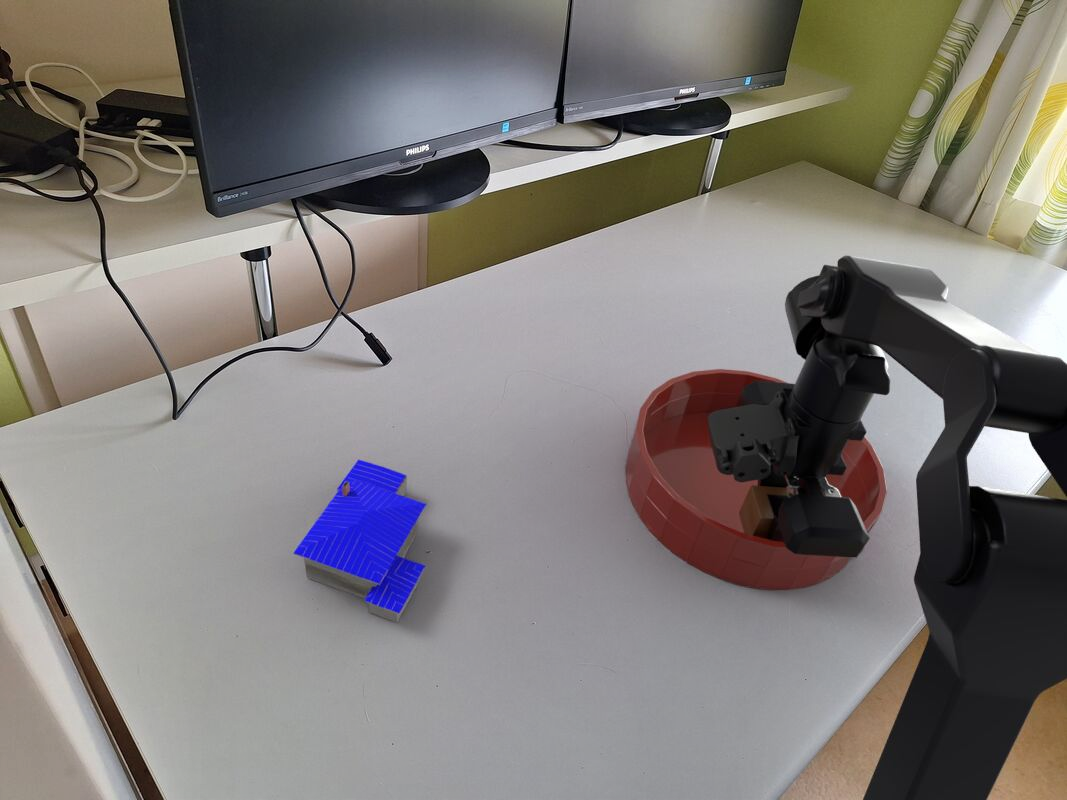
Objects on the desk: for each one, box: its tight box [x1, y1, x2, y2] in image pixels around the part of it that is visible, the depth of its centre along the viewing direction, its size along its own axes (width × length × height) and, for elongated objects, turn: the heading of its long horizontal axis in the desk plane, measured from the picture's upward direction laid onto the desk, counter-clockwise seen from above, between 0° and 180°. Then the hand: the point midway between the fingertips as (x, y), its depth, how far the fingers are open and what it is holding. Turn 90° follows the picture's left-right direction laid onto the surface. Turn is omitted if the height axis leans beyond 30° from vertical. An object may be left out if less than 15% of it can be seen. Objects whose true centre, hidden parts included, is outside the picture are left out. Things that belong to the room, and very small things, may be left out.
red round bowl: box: [624, 368, 888, 591], centre depth 80 cm, size 25×25×6 cm
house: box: [293, 459, 427, 623], centre depth 69 cm, size 11×14×6 cm
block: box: [739, 485, 793, 542], centre depth 71 cm, size 4×4×4 cm
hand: (767, 523), depth 72 cm, fingers closed on block, 4 cm apart
